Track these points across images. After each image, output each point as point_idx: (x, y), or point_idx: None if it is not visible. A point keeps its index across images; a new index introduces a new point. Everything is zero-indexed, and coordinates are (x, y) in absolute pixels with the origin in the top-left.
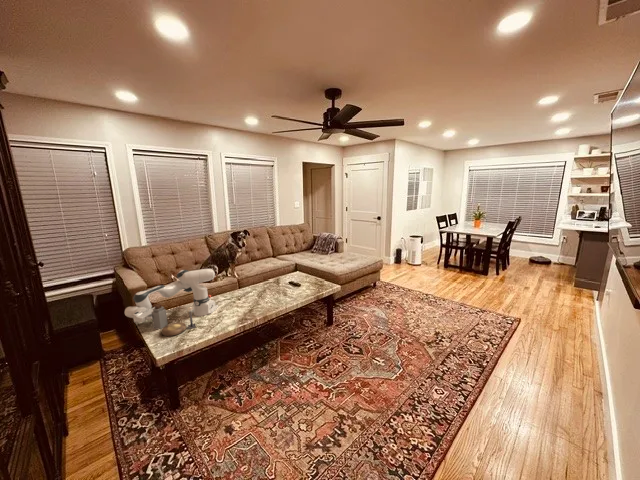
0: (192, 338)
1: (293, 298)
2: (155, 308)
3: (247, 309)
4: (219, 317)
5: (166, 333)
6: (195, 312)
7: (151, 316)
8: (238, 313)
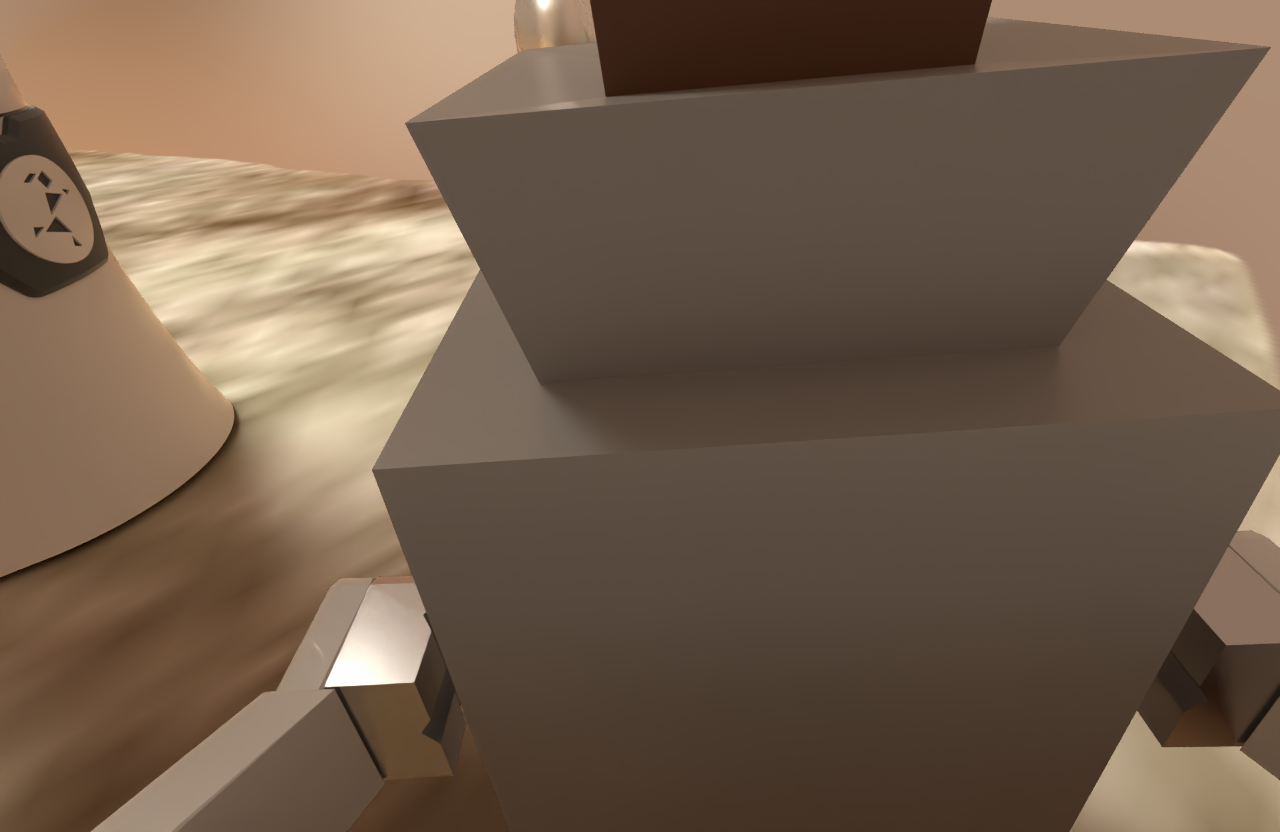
0: None
1: (106, 176)
2: (973, 16)
3: (203, 236)
4: (341, 288)
5: None
6: (136, 437)
7: (1229, 610)
8: (278, 243)
